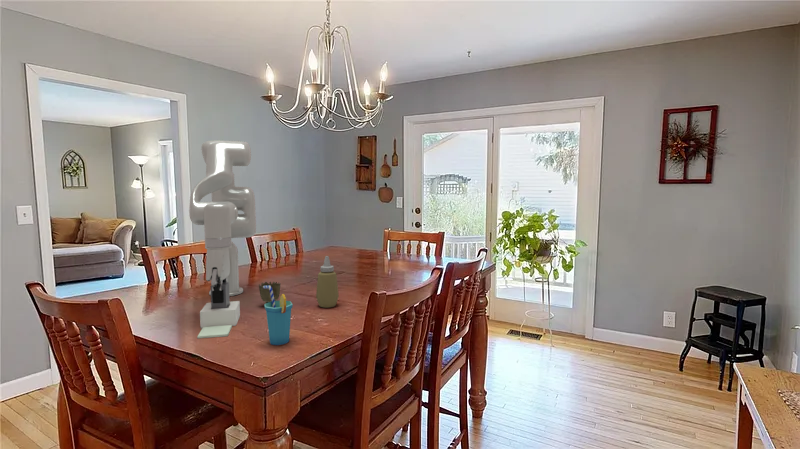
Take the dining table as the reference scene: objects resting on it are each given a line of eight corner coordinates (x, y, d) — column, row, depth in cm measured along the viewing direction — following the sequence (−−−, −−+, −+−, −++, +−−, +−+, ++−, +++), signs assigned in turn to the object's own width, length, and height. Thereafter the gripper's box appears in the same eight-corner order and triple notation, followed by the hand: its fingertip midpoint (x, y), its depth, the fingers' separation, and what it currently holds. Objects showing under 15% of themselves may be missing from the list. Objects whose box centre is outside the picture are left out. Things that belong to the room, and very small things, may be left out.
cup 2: (274, 309, 145) (274, 286, 144) (255, 307, 146) (254, 285, 146) (284, 303, 152) (284, 281, 151) (266, 302, 154) (265, 280, 153)
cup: (252, 337, 118) (251, 285, 116) (277, 331, 123) (276, 281, 122) (277, 351, 108) (276, 295, 106) (303, 343, 113) (302, 289, 112)
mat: (203, 329, 125) (203, 327, 125) (231, 326, 127) (231, 325, 126) (197, 338, 117) (197, 336, 117) (227, 336, 119) (227, 334, 119)
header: (207, 317, 135) (206, 302, 135) (240, 315, 137) (239, 300, 137) (200, 328, 125) (199, 312, 125) (235, 325, 128) (235, 309, 127)
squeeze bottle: (311, 305, 149) (310, 256, 147) (329, 301, 155) (329, 253, 153) (325, 310, 144) (324, 259, 142) (343, 305, 150) (343, 256, 148)
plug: (215, 313, 133) (214, 282, 132) (230, 312, 134) (228, 282, 133) (211, 317, 129) (210, 286, 128) (226, 316, 130) (225, 285, 129)
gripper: (213, 239, 137) (215, 294, 139) (196, 247, 120) (199, 309, 122) (237, 239, 138) (238, 293, 140) (224, 247, 121) (226, 308, 123)
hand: (220, 299), depth 131 cm, fingers closed on plug, 4 cm apart
